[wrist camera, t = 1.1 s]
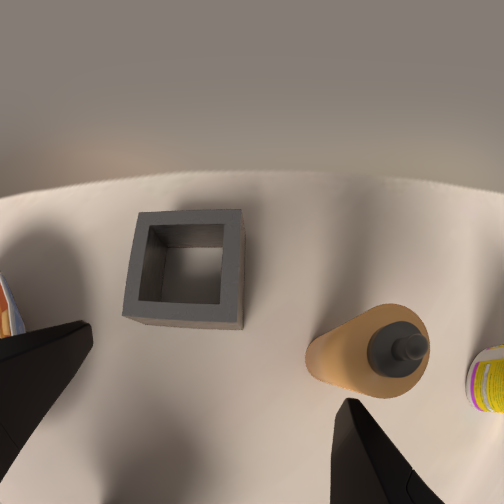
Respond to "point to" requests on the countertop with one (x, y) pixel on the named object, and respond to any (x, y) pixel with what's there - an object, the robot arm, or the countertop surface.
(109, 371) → the countertop surface
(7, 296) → the ramen bowl
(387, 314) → the plug
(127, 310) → the grey square open block
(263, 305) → the countertop surface
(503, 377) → the supplement bottle
